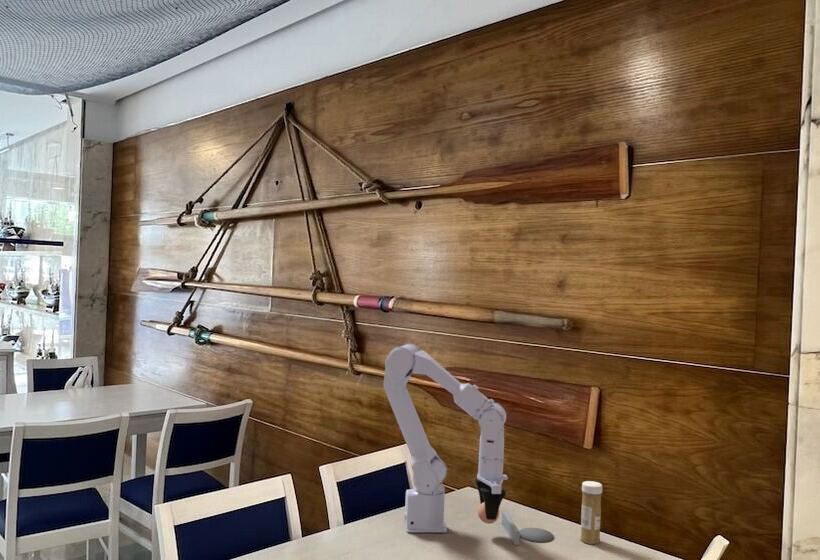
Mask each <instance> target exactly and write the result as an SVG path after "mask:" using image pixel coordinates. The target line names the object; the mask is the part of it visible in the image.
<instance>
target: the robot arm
mask: <svg viewBox="0 0 820 560" xmlns="http://www.w3.org/2000/svg"><path fill="white" fill-rule="evenodd" d="M384 368H385V369H384V376H383V384H382V386H383V390H384V392H385V395H386V397H387V399H388V403H389V404H390V406H391V409H392V412H393V415H394V417H395V420H396V422H397V424H398V426H399V430H400V431H401V434H402V436H403V438H404V439H403V440H404V442H405V444H406V447H407V448H408V450H409V453H410V466H411V470H412V472H413V474H412V475H413V480H412V482H413V485H414V488H411V489H406V491H405V504H404V505H405V506H404V515H403V517H404V518H403V520H404V526H405V529H406V532H407V533H447V532H448V529H447V526H446V523H445V521H444V520H445V519H444V517H445V498H446V497H445V495H446V494H445V493H446V488H445V486H444V484H443V481H444V480H445V479H446V477H447V474H448V467H447V465H446V462H444V460H442V459H441V458H440V457H439V456H438V453H437V451H436V450H435V448H433V447H432V446H431V444H430V441H429V439H428V436H427V433H426V432H425V429H424V426H423V425H422V421H421V419H420V417H419V415H418V412H417V409H416V408H415V405H414V403H413V401H412V398H411V395H410V393H409V390H408V388H407V384H408V382H409V381H410V380H409V379H410V377H411V376H412V374H416V375H426V376H427V377H429V378H430V379H432V380H433V382H435V383H437V384H438V385H440V386H441V387H442V388H444V389H445V390H446V391H447V392H449V393H451V395H453V396H452V397H453V402H454V404H456V406H458V407H460V409H461V410H463V411H464V412H466V413H467V414H468V415H469V416H470V417H471V418H473V419H474V420H477V421H478V426H479V427H480V436H479V445H478V446H479V449H478V451H479V452H478V466H477V467H478V468H477V469H478V471H477V475H476V478H475V479H474V482H475V484H476V487H477V490H478V495H479V503H480V505H481V504H482V503H483V502H484V503H485V514H486V518H487V520H496V517H497V514H498V510H499V511H500V506H501V503H502V502H503V499H504V497H505V496H506V494H507V492H506V490H505V489H502V484H503V482H504V481H508V479H509V478H508V475H507V474H503V473H504V455H505V453H504V452H505V427H504V425H505V423H506V421H507V412H506V410H505V408H504V407H503V406H502V404H500V403H498V402H495V400H494V399H493V398H490V399H489V398H488V397H487V396H486V395H484V394H483V393H482V392H480V391H479V390H478V389H479V386H478V385H476V384H473V385H472V384H470V382H468V383H461V382H460V381H459V380H458V379H457V378H456V377H454V375H452V374H451V373H450V372H449V371H448V370H447V369H445V368H444V367H443V366H442V364H440V363H439V362H438V361H437V360H435V359H434V358H433V357H432V356H431V355H430V354H429V353H427V352H426V351H424V350H423V349H422V350H421V349H420V348H419V346H417V344H413V343H406V344H403V345H401V346H397V347H394V348H393V349H391V350H390V352H389V354H387V357H386V359H385V361H384ZM496 521H497V520H496Z"/></svg>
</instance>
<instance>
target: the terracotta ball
mask: <svg viewBox="0 0 820 560" xmlns="http://www.w3.org/2000/svg"><path fill="white" fill-rule="evenodd" d="M477 515H478V518H479V519H480V520H481V521H482V522H483V523H484V524H488V525H489V524H493V523H495V522H497V521H498V519H499V517H500V509H499V510H498V514H497V517H496V520H487V518H486V514H485V503H484V502H483V503H482V504H480V505H478V509H477Z"/></svg>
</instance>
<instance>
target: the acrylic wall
mask: <svg viewBox="0 0 820 560" xmlns="http://www.w3.org/2000/svg"><path fill="white" fill-rule="evenodd" d="M501 512H502V513H501V524H502V526H503V528H504V530H505V532H506V533H507V534H508V537H509V538H510V540H511V541H512V544H513V545H515V546H519V545H520V536H519V534H520V532H519V531H520V530H519V529H518V527H517V526H516V524H515V523H514V521H513V520H512V518H511V516H510V515H509V514H508V512H507V511H506V510H505V511H504V510H503V511H501Z"/></svg>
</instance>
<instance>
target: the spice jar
mask: <svg viewBox="0 0 820 560" xmlns="http://www.w3.org/2000/svg"><path fill="white" fill-rule="evenodd" d="M581 493H582V497H581V498H582V500H581V513H580V514H581V517H580V519H581V520H580V527H581V528H580V532H581V533H580V540H581V542H583V543H586V544H587V545H588V544H590V545H597V544H599V543H600V542H601V538H600V537H601V516H602V515H601V514H602V507H601V506H602V505H601V503H602V494H603V484H602V483H600V482H597V481H595V480H594V481H592V480H586V481H582V483H581Z"/></svg>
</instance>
